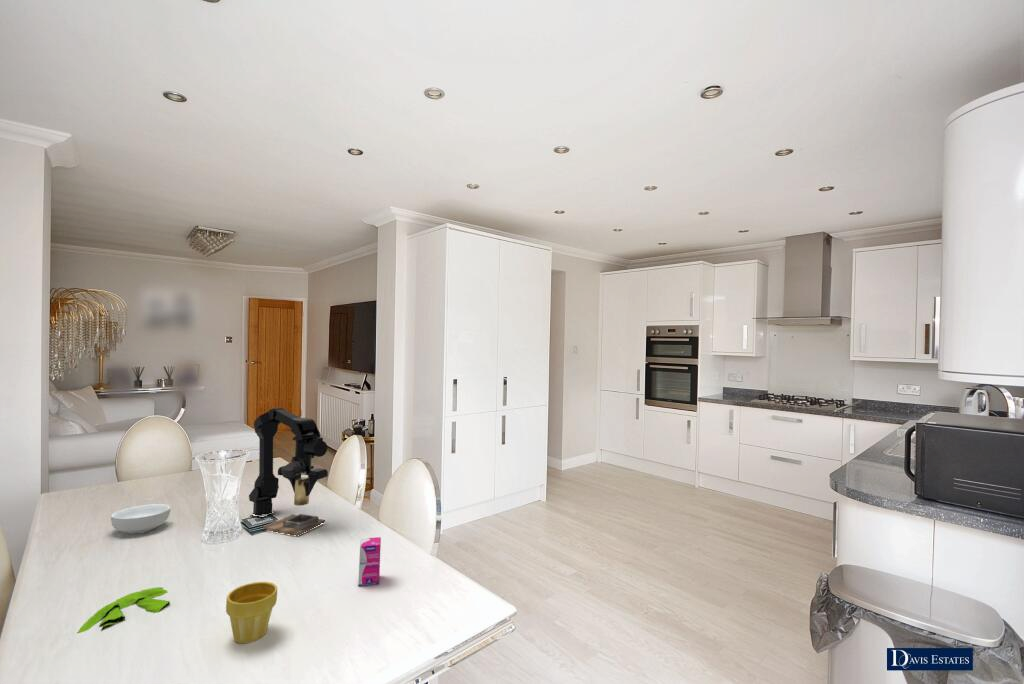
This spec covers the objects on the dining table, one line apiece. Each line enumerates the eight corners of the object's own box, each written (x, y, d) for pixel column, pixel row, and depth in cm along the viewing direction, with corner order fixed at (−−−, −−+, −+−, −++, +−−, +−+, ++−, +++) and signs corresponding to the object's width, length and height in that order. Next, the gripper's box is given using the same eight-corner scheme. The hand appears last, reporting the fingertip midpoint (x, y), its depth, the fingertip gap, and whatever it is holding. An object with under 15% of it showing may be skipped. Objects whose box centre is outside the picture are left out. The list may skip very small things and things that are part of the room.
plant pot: (283, 621, 112) (285, 580, 112) (262, 648, 101) (264, 603, 102) (240, 621, 111) (242, 580, 112) (214, 648, 101) (216, 603, 101)
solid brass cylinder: (291, 504, 170) (291, 480, 170) (301, 500, 175) (302, 476, 175) (301, 506, 169) (302, 481, 169) (311, 502, 173) (312, 478, 174)
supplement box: (358, 587, 129) (359, 545, 129) (359, 577, 135) (360, 537, 135) (379, 584, 130) (380, 544, 131) (379, 575, 136) (380, 536, 137)
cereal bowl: (181, 523, 174) (181, 504, 175) (141, 540, 158) (142, 519, 158) (140, 520, 176) (141, 502, 176) (96, 537, 160) (98, 517, 160)
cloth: (166, 584, 130) (167, 575, 130) (192, 613, 116) (192, 603, 116) (67, 614, 114) (67, 604, 114) (82, 652, 100) (83, 640, 100)
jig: (262, 530, 168) (262, 521, 168) (291, 518, 182) (292, 509, 182) (297, 537, 163) (297, 527, 163) (324, 523, 176) (325, 514, 177)
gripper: (266, 455, 168) (264, 498, 167) (307, 459, 162) (306, 504, 161) (290, 449, 178) (288, 490, 178) (329, 453, 172) (328, 495, 172)
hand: (301, 495), depth 172 cm, fingers closed on solid brass cylinder, 5 cm apart
